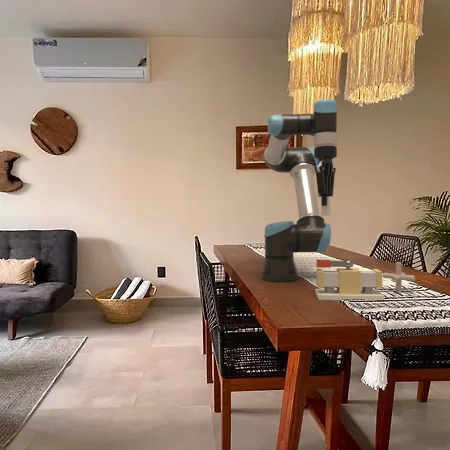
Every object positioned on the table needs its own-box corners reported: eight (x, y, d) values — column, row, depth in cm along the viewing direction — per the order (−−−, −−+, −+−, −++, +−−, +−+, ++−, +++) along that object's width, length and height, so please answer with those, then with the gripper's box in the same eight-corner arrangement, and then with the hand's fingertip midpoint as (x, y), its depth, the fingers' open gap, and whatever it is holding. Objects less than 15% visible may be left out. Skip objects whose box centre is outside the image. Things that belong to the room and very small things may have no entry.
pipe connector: (387, 287, 135) (387, 259, 135) (418, 290, 129) (418, 261, 128) (378, 292, 128) (378, 263, 127) (410, 296, 121) (410, 265, 121)
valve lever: (317, 267, 123) (316, 260, 122) (316, 266, 125) (316, 259, 125) (353, 267, 121) (353, 261, 120) (352, 266, 124) (352, 259, 123)
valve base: (315, 293, 129) (315, 265, 128) (376, 293, 126) (376, 265, 125) (318, 299, 120) (318, 269, 119) (384, 300, 117) (384, 270, 117)
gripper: (322, 149, 136) (323, 214, 138) (306, 145, 126) (307, 216, 127) (343, 147, 132) (343, 214, 133) (328, 143, 121) (328, 216, 123)
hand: (325, 215), depth 130 cm, fingers closed
